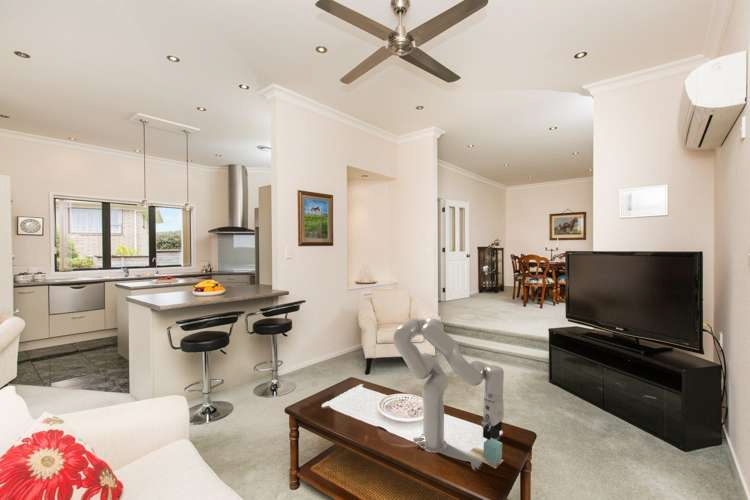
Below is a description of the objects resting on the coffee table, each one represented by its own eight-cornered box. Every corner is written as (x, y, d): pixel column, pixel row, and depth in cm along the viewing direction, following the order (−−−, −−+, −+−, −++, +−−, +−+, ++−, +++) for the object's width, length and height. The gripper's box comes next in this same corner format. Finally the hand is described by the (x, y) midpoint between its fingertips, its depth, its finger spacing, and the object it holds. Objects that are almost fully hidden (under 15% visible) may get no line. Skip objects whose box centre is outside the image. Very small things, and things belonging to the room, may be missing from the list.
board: (495, 470, 142) (495, 468, 142) (466, 455, 152) (466, 453, 152) (503, 461, 147) (503, 460, 147) (475, 447, 157) (475, 446, 157)
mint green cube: (495, 463, 143) (495, 448, 143) (483, 457, 147) (483, 442, 147) (501, 457, 147) (502, 442, 147) (489, 451, 151) (490, 437, 151)
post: (495, 465, 144) (495, 449, 143) (484, 460, 147) (485, 444, 147) (500, 460, 147) (500, 445, 147) (490, 455, 150) (490, 440, 150)
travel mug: (501, 441, 162) (501, 400, 162) (484, 439, 164) (485, 398, 163) (498, 432, 170) (499, 393, 169) (482, 430, 171) (483, 391, 171)
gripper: (491, 405, 137) (490, 446, 138) (511, 392, 149) (509, 429, 150) (475, 398, 143) (473, 438, 144) (495, 386, 155) (493, 422, 155)
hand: (492, 433), depth 147 cm, fingers open, 9 cm apart
